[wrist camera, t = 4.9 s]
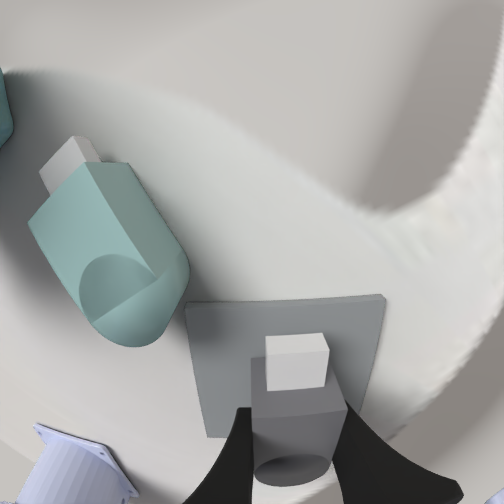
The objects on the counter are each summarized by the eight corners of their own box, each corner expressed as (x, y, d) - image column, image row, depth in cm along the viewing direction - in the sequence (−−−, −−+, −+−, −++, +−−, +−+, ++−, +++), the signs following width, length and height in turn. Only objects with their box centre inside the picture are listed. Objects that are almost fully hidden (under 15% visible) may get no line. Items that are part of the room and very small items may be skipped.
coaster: (352, 420, 15) (354, 427, 14) (208, 430, 15) (207, 437, 14) (380, 294, 13) (385, 299, 12) (186, 302, 12) (184, 308, 12)
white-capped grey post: (312, 433, 14) (323, 482, 10) (253, 437, 14) (254, 488, 10) (330, 319, 12) (357, 372, 8) (249, 323, 12) (250, 381, 8)
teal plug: (205, 281, 12) (190, 322, 9) (147, 315, 13) (120, 359, 9) (109, 130, 10) (62, 120, 7) (59, 177, 11) (9, 183, 7)
